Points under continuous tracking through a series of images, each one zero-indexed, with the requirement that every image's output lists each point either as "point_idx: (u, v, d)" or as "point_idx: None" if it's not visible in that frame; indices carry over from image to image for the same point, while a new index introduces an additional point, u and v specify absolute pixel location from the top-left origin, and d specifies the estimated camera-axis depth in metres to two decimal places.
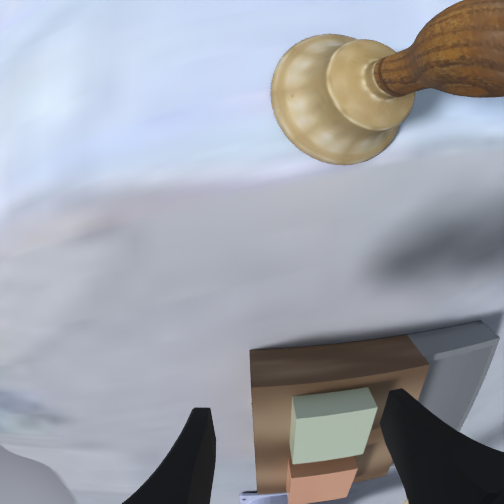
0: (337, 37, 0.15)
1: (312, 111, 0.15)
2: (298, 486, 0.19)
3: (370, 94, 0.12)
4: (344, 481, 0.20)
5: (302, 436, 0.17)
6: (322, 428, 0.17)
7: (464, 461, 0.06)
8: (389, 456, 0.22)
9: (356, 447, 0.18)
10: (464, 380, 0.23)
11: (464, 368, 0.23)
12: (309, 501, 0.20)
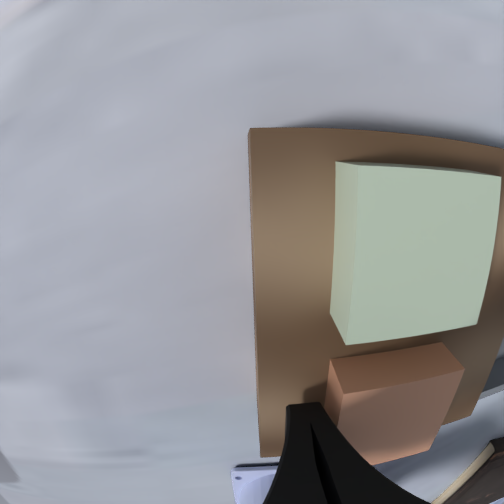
0: None
1: None
2: (354, 420, 0.10)
3: None
4: (437, 406, 0.10)
5: (372, 236, 0.08)
6: (413, 212, 0.08)
7: (353, 495, 0.06)
8: (484, 369, 0.12)
9: (469, 299, 0.09)
10: None
11: None
12: None
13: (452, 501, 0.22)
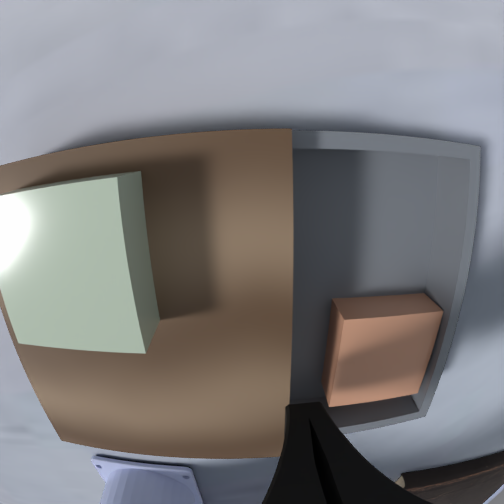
0: None
1: None
2: None
3: None
4: None
5: (0, 254, 0.08)
6: (22, 232, 0.08)
7: (354, 495, 0.06)
8: (274, 408, 0.12)
9: (117, 322, 0.08)
10: (435, 266, 0.14)
11: (431, 241, 0.14)
12: None
13: None
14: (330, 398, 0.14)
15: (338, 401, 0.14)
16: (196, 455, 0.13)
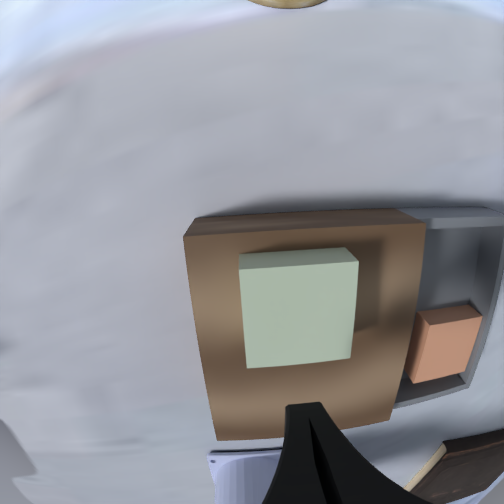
0: None
1: None
2: None
3: None
4: None
5: (252, 308, 0.14)
6: (280, 293, 0.14)
7: (354, 495, 0.06)
8: (391, 385, 0.18)
9: (338, 342, 0.14)
10: (477, 288, 0.19)
11: (474, 271, 0.20)
12: None
13: None
14: (414, 377, 0.20)
15: (419, 379, 0.20)
16: None
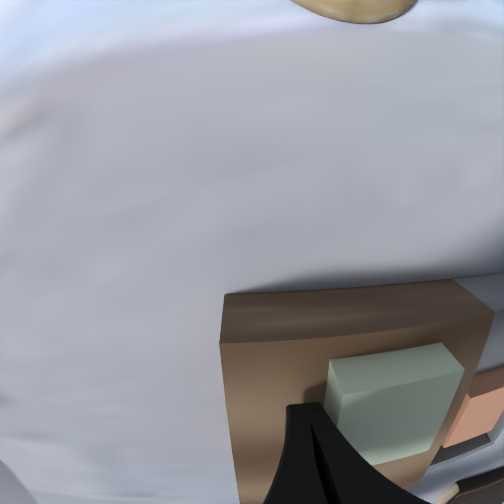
0: None
1: None
2: None
3: None
4: None
5: (348, 427, 0.10)
6: (382, 410, 0.10)
7: (353, 495, 0.06)
8: (426, 459, 0.14)
9: (423, 440, 0.11)
10: None
11: None
12: None
13: None
14: (446, 443, 0.16)
15: (449, 443, 0.16)
16: None
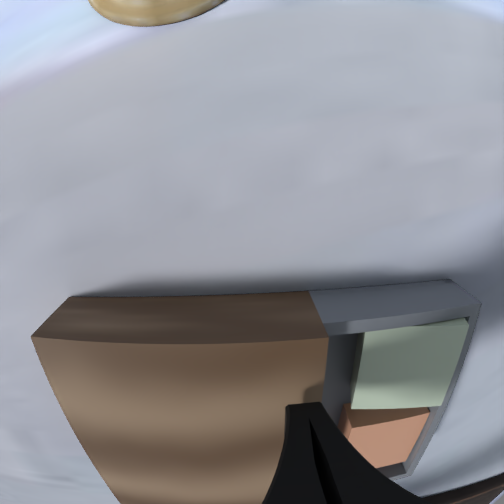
0: None
1: None
2: None
3: None
4: None
5: None
6: None
7: (354, 495, 0.06)
8: None
9: None
10: None
11: None
12: None
13: None
14: None
15: None
16: None
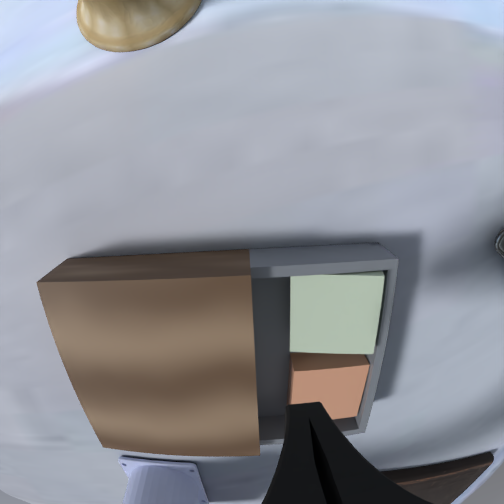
0: None
1: (84, 5, 0.12)
2: None
3: None
4: None
5: None
6: None
7: (354, 495, 0.06)
8: (249, 425, 0.19)
9: None
10: None
11: None
12: None
13: None
14: None
15: None
16: (199, 454, 0.20)
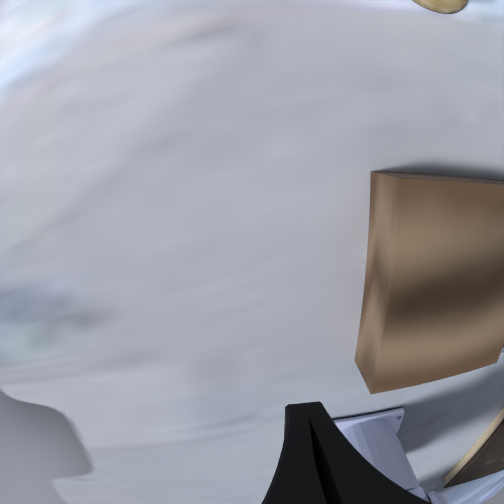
0: None
1: None
2: None
3: None
4: None
5: None
6: None
7: (354, 495, 0.06)
8: None
9: None
10: None
11: None
12: None
13: (476, 460, 0.29)
14: None
15: None
16: (461, 370, 0.19)
